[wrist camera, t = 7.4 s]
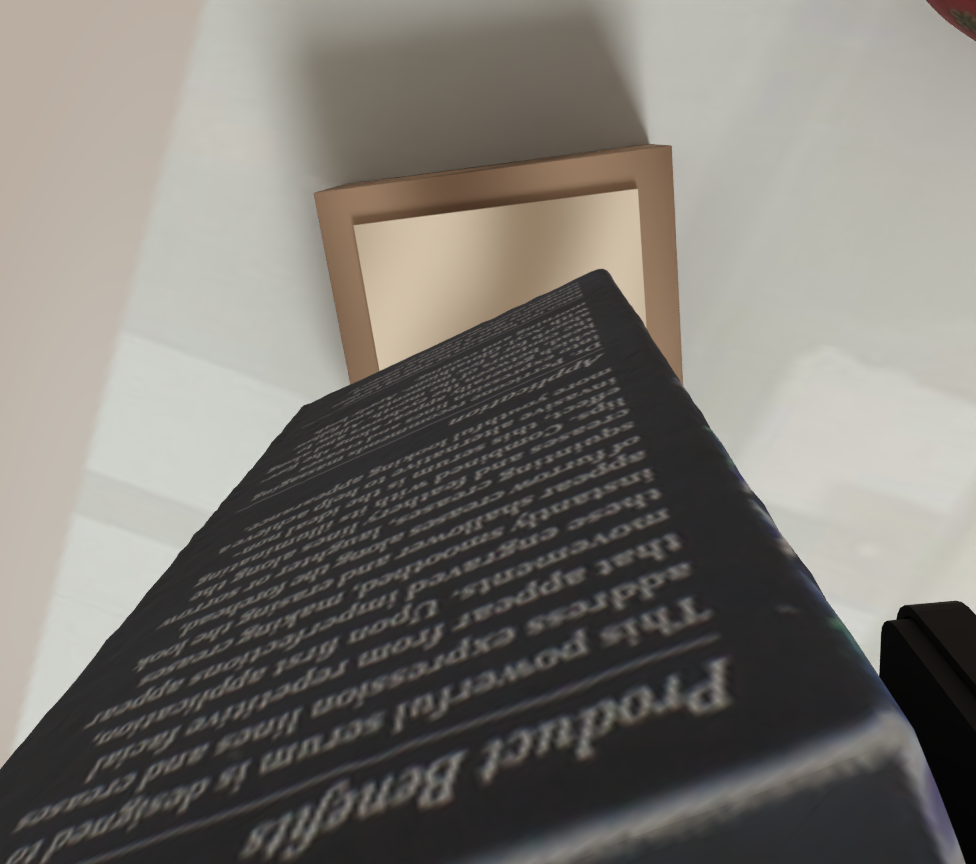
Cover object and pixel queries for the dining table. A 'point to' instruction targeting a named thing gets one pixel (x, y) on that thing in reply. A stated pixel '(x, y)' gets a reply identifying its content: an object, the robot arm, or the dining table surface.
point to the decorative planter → (958, 14)
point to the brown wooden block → (497, 247)
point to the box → (484, 644)
